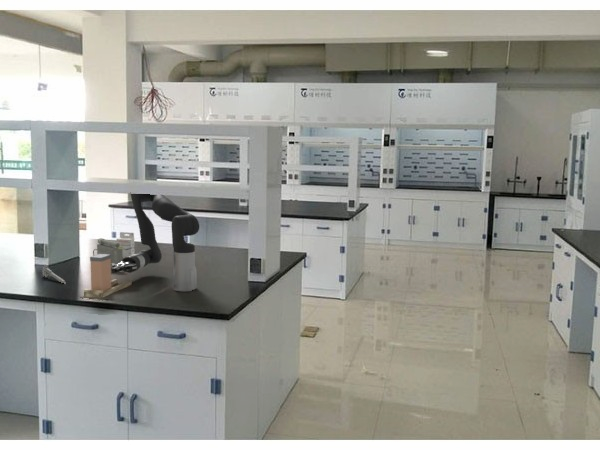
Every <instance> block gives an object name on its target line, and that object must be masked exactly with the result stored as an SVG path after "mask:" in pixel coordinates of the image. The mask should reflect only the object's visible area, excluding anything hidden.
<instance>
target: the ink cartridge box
mask: <svg viewBox="0 0 600 450" xmlns="http://www.w3.org/2000/svg"><path fill="white" fill-rule="evenodd" d="M134 235H135V233H134V232H124V231H120V232H119V237H118V238H116V243H119V244H120V246H119V247H118V248H121V249H122V250H123V259H124V258H125V257H128V256H130V255H133V254H135V236H134Z"/></svg>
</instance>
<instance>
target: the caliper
mask: <svg viewBox="0 0 600 450" xmlns="http://www.w3.org/2000/svg"><path fill="white" fill-rule="evenodd" d="M44 276H45V277H44ZM42 277H44V278H48V277H52V278H53V279H55V280H56V281H58V282H59V283H60V282H61V283H60V284H62V283H64V284H63V285H67V284H66V283H67V282H66V280H64V278H62V277H60V276H59V275H57V274H56V273H54V272H53V271H52V270H51V269H50V268H48V265H47V264H44V265H43V266H42Z"/></svg>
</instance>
